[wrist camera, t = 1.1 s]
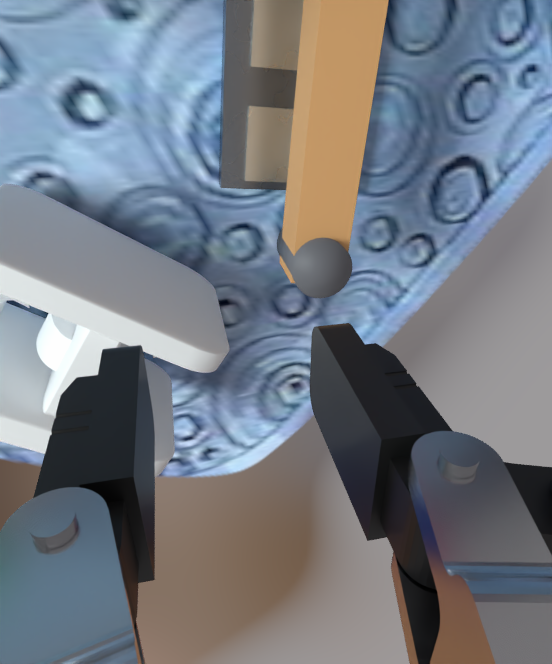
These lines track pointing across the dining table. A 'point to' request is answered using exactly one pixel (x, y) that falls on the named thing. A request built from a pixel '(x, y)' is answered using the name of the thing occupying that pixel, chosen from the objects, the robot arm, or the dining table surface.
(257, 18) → the label plate
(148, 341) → the cable organizer
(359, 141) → the swing bar
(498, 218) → the dining table surface
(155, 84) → the dining table surface
